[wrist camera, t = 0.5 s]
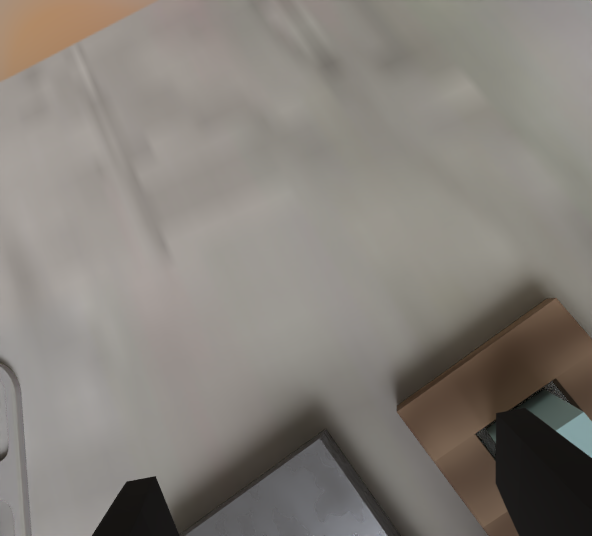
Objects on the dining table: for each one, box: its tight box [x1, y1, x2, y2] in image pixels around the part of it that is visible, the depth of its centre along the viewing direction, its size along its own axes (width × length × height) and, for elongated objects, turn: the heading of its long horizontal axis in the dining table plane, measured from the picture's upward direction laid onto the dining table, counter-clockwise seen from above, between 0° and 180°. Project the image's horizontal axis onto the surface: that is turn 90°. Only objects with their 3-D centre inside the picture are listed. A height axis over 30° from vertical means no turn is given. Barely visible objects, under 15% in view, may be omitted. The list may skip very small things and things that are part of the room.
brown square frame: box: [397, 298, 592, 536], centre depth 30 cm, size 12×12×2 cm
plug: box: [486, 389, 592, 458], centre depth 28 cm, size 3×4×7 cm
